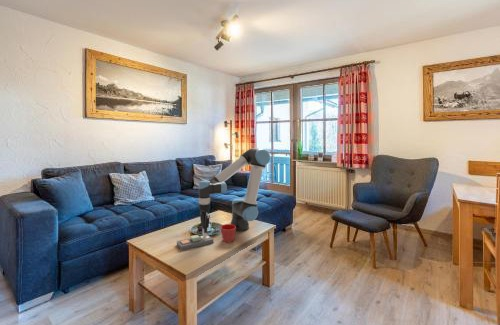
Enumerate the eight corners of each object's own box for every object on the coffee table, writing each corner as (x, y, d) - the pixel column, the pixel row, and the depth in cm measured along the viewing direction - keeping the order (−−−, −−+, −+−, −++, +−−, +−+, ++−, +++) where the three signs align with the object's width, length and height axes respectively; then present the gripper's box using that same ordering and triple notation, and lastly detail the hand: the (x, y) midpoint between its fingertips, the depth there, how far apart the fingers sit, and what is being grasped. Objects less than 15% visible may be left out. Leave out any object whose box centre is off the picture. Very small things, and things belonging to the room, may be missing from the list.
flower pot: (221, 243, 174) (221, 229, 173) (220, 237, 185) (220, 224, 183) (236, 242, 176) (236, 228, 175) (234, 236, 187) (234, 223, 186)
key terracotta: (187, 242, 173) (187, 239, 173) (189, 245, 169) (189, 242, 169) (180, 244, 170) (180, 241, 170) (182, 246, 166) (182, 243, 166)
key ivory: (206, 238, 180) (206, 235, 180) (209, 240, 176) (209, 237, 176) (200, 239, 178) (200, 236, 178) (203, 242, 174) (203, 239, 174)
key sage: (197, 237, 176) (197, 234, 176) (199, 240, 172) (199, 237, 172) (190, 239, 174) (190, 236, 174) (193, 241, 170) (193, 238, 170)
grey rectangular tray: (207, 237, 184) (207, 234, 183) (213, 242, 175) (213, 239, 175) (176, 244, 172) (176, 241, 171) (181, 250, 163) (181, 246, 163)
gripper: (195, 202, 178) (196, 234, 180) (203, 206, 167) (203, 241, 169) (205, 200, 182) (206, 232, 184) (213, 204, 171) (213, 238, 173)
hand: (204, 236), depth 177 cm, fingers closed
